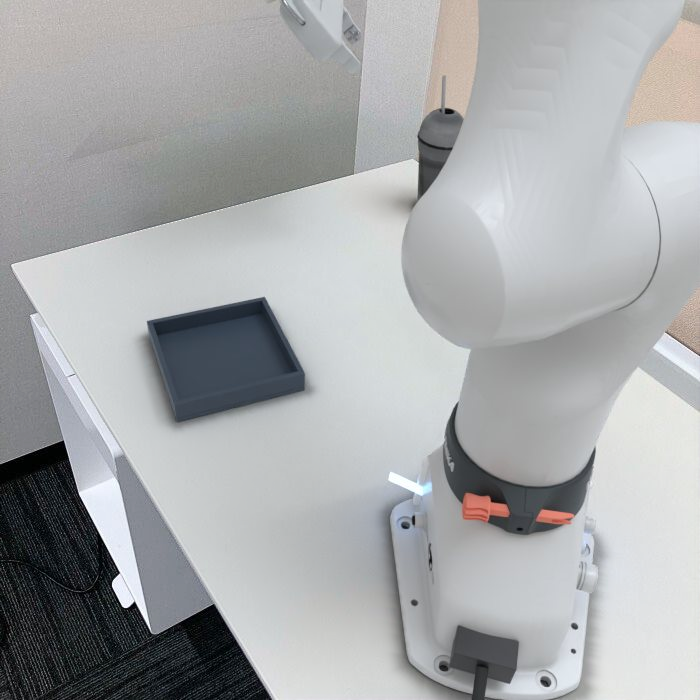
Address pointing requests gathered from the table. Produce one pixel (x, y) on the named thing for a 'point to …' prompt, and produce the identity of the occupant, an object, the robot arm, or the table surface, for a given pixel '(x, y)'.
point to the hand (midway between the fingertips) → (357, 53)
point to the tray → (224, 358)
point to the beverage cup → (436, 142)
